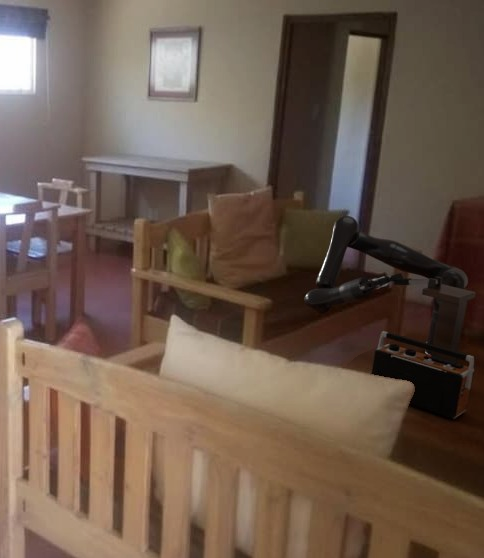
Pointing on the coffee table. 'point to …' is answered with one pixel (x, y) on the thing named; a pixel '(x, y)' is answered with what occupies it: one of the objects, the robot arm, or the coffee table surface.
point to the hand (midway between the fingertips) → (395, 277)
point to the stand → (448, 315)
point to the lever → (411, 281)
